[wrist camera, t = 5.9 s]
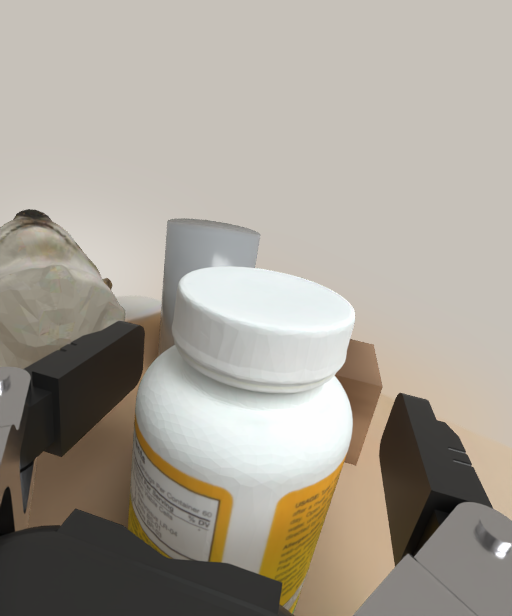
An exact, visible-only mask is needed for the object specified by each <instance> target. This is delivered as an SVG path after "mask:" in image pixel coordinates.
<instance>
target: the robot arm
mask: <svg viewBox="0 0 512 616" xmlns="http://www.w3.org/2000/svg"><path fill="white" fill-rule="evenodd" d="M144 336H145V332H144V328H143V327H142V326H140V325H136V324H132V323H128V322H124V321H117V322H115V323H113V324H112V325H110V326H108V327H107V328H105V329H103V330H101V331H97V332H94V333H90V334H87V335H83V336H81V337H80V338H78V339H76V340H74V341H72V342H71V343H70V344H67V345H65V346H63V347H62V348H60V350H56V351H55V352H53V353H51V354H49V355H47V356H46V357H44V358H42V359H40V360H38V361H37V362H35V363H33V364H31V365H29V366H28V367H26V368H24V369H21V368H17V367H0V616H294V615H293V614H292V613H291V612H289V611H288V610H287V609H285V608H284V607H283V606H281V605H280V604H279V603H280V597H281V590H282V582H279V581H277V580H274V579H271V578H268V577H265V576H263V575H260V574H257V573H254V572H251V571H249V570H246V569H243V568H240V567H237V566H235V565H232V564H229V563H221V562H207V561H194V560H181V559H171V558H167V557H165V556H163V555H162V554H160V553H159V552H158V551H156V550H155V549H154V548H152V547H151V546H150V545H148V544H147V543H145V542H144V541H143V540H141V539H140V538H139V537H137V536H136V535H135V534H133V533H132V532H131V531H129V530H128V529H127V528H125V527H124V526H123V525H120V524H117V523H115V522H112V521H109V520H106V519H103V518H101V517H98V516H95V515H92V514H89V513H87V512H84V511H81V510H78V509H75V510H74V511H73V512H72V513H71V514H70V516H69V517H68V518H67V519H66V520H65V522H64V523H63V524H62V525H61V526H60V525H53V526H40V527H33V528H28V522H29V515H30V509H31V502H32V496H33V489H34V482H35V476H36V469H37V459H36V457H37V456H39V455H40V454H41V453H42V452H43V451H45V452H48V453H51V454H54V455H57V456H60V457H62V456H63V455H64V454H65V453H66V452H67V451H68V450H69V449H71V448H72V447H73V446H74V445H75V444H76V443H77V442H78V441H79V440H80V439H81V438H82V437H83V436H84V435H85V434H86V433H87V432H88V431H89V430H90V429H92V428H93V427H94V426H95V425H96V424H97V423H98V422H99V421H100V420H101V419H102V418H103V417H104V416H105V415H106V414H107V413H108V412H109V411H110V410H112V409H113V408H114V407H115V406H116V405H117V404H118V403H119V402H120V401H121V400H122V399H123V398H124V397H125V396H126V395H127V394H128V393H129V392H130V391H132V390H133V389H134V388H135V386H136V385H137V384H138V382H139V380H140V378H141V375H142V370H143V354H144ZM465 453H466V451H465V449H464V447H463V445H462V443H461V440H460V438H459V437H458V436H457V435H456V433H455V432H454V431H453V430H452V429H451V428H450V427H449V426H448V425H447V424H446V423H445V422H441V421H437V420H436V417H435V415H434V413H433V410H432V408H431V406H430V403H429V401H428V400H426V399H422V398H418V397H414V396H410V395H406V394H403V393H399V394H398V395H397V397H396V399H395V402H394V404H393V407H392V410H391V413H390V416H389V418H388V421H387V424H386V427H385V430H384V433H383V435H382V439H381V443H380V452H379V458H380V465H381V472H382V479H383V486H384V493H385V500H386V507H387V514H388V521H389V528H390V535H391V542H392V548H393V555H394V562H395V568H394V569H393V570H392V571H391V572H390V574H389V575H388V576H387V577H386V578H385V579H384V580H383V582H382V583H381V584H380V585H379V586H378V587H377V588H376V590H375V591H374V592H373V593H372V594H371V595H370V597H369V598H368V599H367V600H366V601H365V602H364V603H363V605H362V606H361V607H360V608H359V609H358V610H357V611H356V613H355V614H354V615H353V616H512V521H511V520H510V519H509V518H507V517H506V516H504V515H503V514H501V513H500V512H498V511H496V510H494V509H493V507H492V505H491V503H490V501H489V499H488V497H487V495H486V493H485V490H484V488H483V486H482V484H481V482H480V480H479V478H478V476H477V474H476V472H475V470H474V468H473V467H471V465H472V463H471V461H470V459H469V457H468V455H467V454H465Z"/></svg>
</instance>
